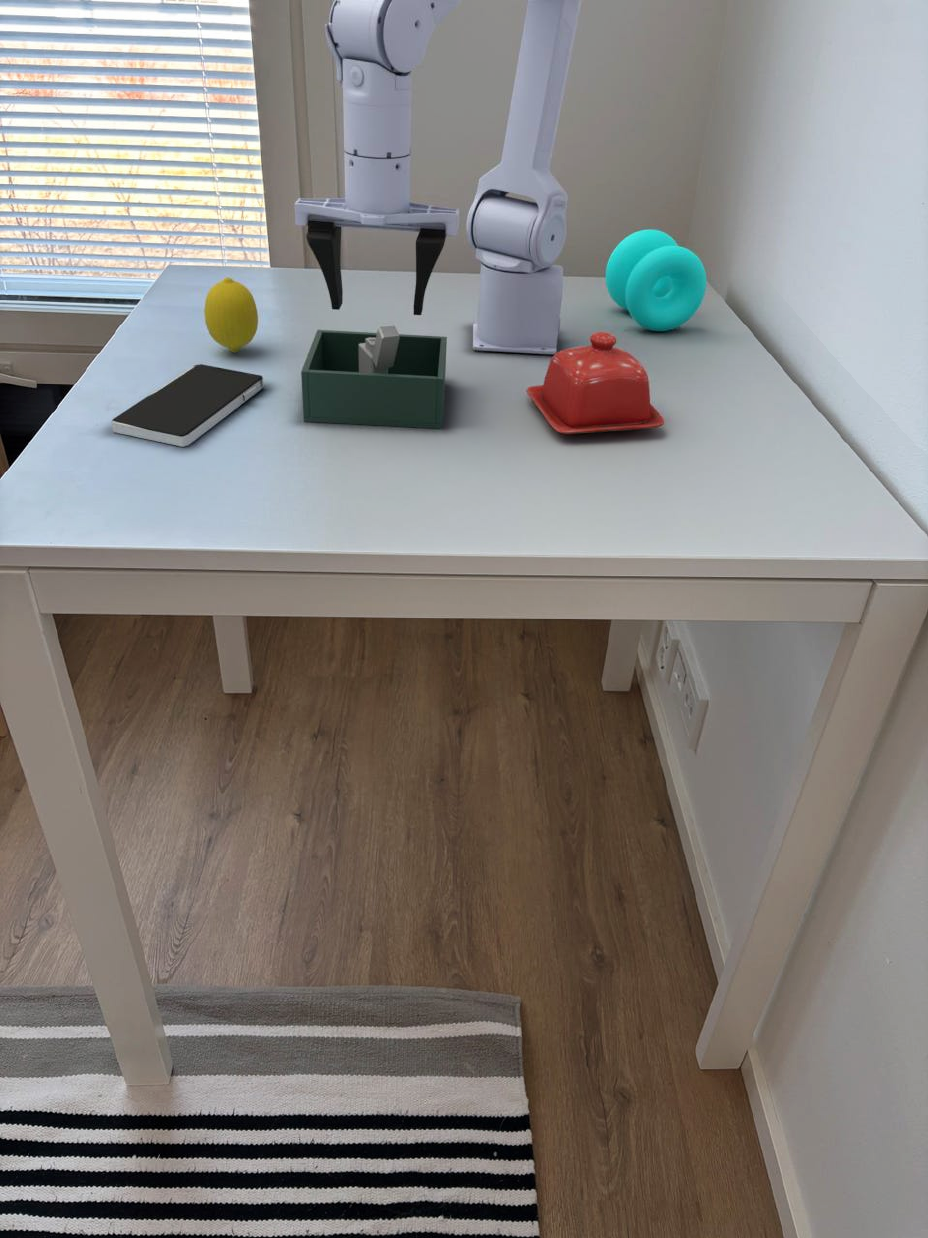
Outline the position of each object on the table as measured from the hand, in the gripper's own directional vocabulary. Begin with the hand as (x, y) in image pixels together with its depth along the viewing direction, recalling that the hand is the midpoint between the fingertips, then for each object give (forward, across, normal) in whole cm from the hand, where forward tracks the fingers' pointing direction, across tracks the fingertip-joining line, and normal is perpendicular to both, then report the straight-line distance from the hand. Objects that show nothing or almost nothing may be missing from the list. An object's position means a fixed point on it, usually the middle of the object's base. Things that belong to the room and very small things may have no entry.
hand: (377, 308), depth 91 cm
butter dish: (+9, +22, 0) cm, 23 cm away
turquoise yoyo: (+10, +30, +30) cm, 44 cm away
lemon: (+9, -17, +10) cm, 22 cm away
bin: (+9, 0, 0) cm, 9 cm away
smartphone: (+9, -17, -5) cm, 20 cm away
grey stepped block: (+9, 0, 0) cm, 9 cm away
